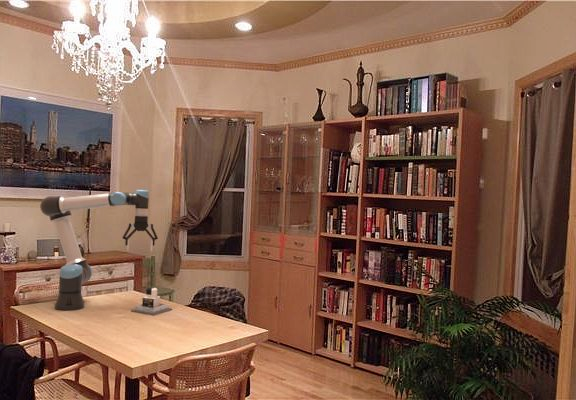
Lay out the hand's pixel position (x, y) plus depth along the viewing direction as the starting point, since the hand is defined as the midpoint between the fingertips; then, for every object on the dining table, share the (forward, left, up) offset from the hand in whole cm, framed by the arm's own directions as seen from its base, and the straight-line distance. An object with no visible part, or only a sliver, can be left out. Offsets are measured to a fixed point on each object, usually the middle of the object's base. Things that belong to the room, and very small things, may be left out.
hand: (139, 251), depth 281 cm
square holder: (+18, -9, -32) cm, 38 cm away
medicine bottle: (+18, -9, -31) cm, 37 cm away
